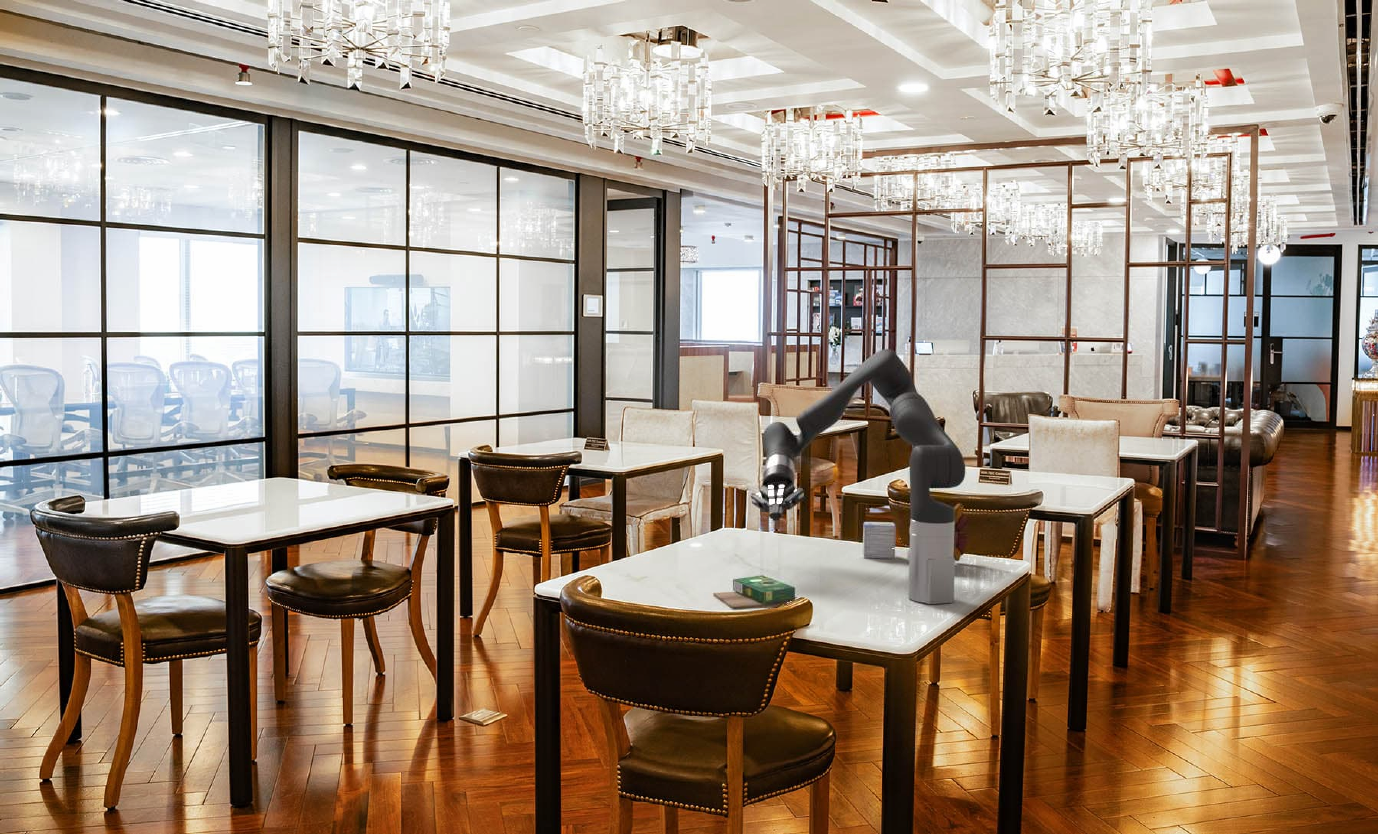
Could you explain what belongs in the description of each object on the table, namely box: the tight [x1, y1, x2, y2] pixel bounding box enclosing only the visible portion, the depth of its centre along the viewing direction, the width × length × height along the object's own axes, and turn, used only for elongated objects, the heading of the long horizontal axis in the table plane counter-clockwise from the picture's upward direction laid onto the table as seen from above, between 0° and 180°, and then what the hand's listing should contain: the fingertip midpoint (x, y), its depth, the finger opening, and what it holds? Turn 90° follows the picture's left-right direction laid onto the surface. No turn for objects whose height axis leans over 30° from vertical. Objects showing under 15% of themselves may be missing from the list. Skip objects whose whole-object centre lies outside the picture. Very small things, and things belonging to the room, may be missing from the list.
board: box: [713, 591, 798, 610], centre depth 232 cm, size 12×16×1 cm
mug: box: [906, 503, 969, 565], centre depth 268 cm, size 11×16×15 cm, turn 111°
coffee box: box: [732, 575, 796, 604], centre depth 233 cm, size 8×3×13 cm
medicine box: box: [862, 521, 897, 560], centre depth 276 cm, size 8×4×9 cm, turn 84°
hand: (775, 517), depth 246 cm, fingers closed
